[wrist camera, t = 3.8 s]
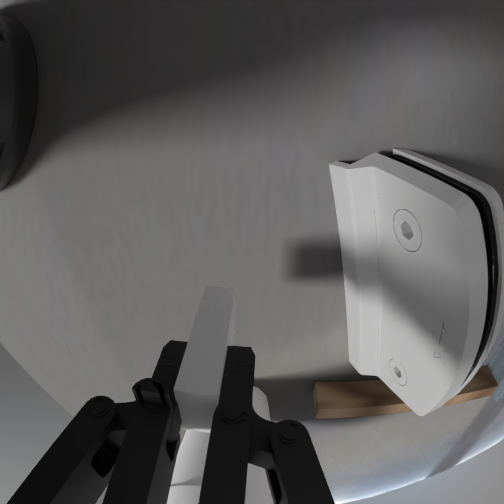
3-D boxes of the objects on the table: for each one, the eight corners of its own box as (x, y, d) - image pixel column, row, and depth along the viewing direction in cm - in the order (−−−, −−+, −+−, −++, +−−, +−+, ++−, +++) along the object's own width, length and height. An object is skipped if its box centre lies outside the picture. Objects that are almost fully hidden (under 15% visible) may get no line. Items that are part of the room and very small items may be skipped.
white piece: (327, 157, 16) (479, 202, 8) (390, 142, 17) (531, 176, 8) (349, 364, 24) (418, 450, 15) (394, 340, 25) (467, 413, 16)
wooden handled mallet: (312, 391, 26) (316, 430, 22) (355, 208, 18) (377, 238, 14) (492, 373, 25) (506, 399, 21) (559, 238, 17) (586, 260, 13)
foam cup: (168, 401, 27) (138, 518, 16) (213, 353, 24) (185, 509, 12) (248, 433, 30) (241, 541, 18) (305, 394, 26) (313, 528, 14)
